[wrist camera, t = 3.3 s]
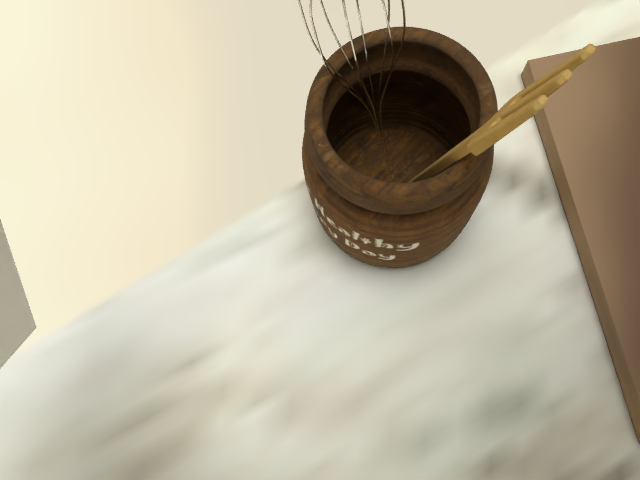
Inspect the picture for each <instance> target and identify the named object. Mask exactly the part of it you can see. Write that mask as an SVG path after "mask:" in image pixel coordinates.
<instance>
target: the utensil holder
mask: <svg viewBox="0 0 640 480" xmlns="http://www.w3.org/2000/svg"><path fill="white" fill-rule="evenodd" d="M381 1H382V4H383V8H384V12H385V16H386V21H387V28H384V29H379V30H375V31H372V32H369V33H366V34H363V27H362V21H361V16H360V10H359V5H358V0H356V3H357V8H358V14H359V20H360V26H361V31H362V35H361V36H359V37H357V38H355V39H353V40H352V36H351V32H350V27H349V23H348V18H347V13H346V7H345V1H344V0H342V3H343V8H344V14H345V18H346V23H347V27H348V32H349V36H350V40H351V41H349V42H348V43H346V44H345V45H343V46H342V47H341V45H340V43H339V41H338V39H337V37H336V35H335V33H334V31H333V29H332V26H331V24H330V22H329V20H328V17H327V15H326V12H325V9H324V6H323V3H322V0H320V2H321V5H322V8H323V11H324V14H325V17H326V19H327V22H328V24H329V26H330V28H331V31H332V33H333V35H334V36H335V39H336V40H337V43H338V45H339V47H340V48H339V49H338V50H337V51H336V52H335V53H334V54H332V55H331V56H330V58H329V59H328V60H326V59H325V57H324V56H323V54H322V51H321V48H320V45H319V42H318V38H317V34H316V31H315V27H314V23H313V18H312V0H310V18H311V23H312V27H313V31H314V34H315V38H316V41H317V45H318V48H319V49H318V48H317V46H316V45H315V43H314V41H313V39H312V37H311V34H310V32H309V29H308V26H307V23H306V20H305V17H304V13H303V10H302V6H301V3H300V0H298V3H299V6H300V10H301V13H302V16H303V20H304V23H305V26H306V29H307V32H308V34H309V36H310V39H311V41H312V43H313V45H314V46H315V48H316V50H317V51H318V53H319V54H320V55H321V57H322V60H323V62H324V65H323V66H322V67H321V69H320V70H319V72H318V73H317V76H316V77H315V79H314V81H313V83H312V86H311V89H310V92H309V96H308V100H307V105H306V112H305V133H304V138H303V146H302V160H303V169H304V175H305V180H306V184H307V187H308V191H309V194H310V197H311V200H312V203H313V206H314V209H315V212H316V214H317V217H318V219H319V221H320V223H321V225H322V226H323V228H324V230H325V231H326V233H327V234H328V236H329V237H330V238H331V239H332V240H333V241H334V242H335V243H336V244H337V245H338V246H339V247H340V248H341V249H342V250H343V251H345V252H346V253H347V254H349V255H351V256H352V257H354V258H356V259H358V260H360V261H363V262H365V263H368V264H372V265H376V266H381V267H404V266H410V265H414V264H418V263H421V262H423V261H426V260H428V259H430V258H432V257H434V256H435V255H437V254H438V253H440V252H441V251H443V250H444V249H445V248H447V247H448V246H449V245H450V244H451V243H452V242H453V241H454V240H455V239H456V238H457V236H458V235H459V234H460V233H461V231H462V230H463V228H464V227H465V226H466V224H467V222H468V221H469V219H470V217H471V216H472V214H473V212H474V210H475V209H476V207H477V205H478V203H479V202H480V200H481V197H482V195H483V193H484V191H485V189H486V186H487V184H488V181H489V178H490V174H491V170H492V165H493V156H494V144H495V143H496V142H498V141H499V140H500V139H502V138H503V137H504V136H506V135H507V134H509V133H510V132H511V131H513V130H514V129H515V128H517V127H518V126H519V125H521V124H522V123H524V122H525V121H526V120H528V119H529V118H530V117H532V116H533V115H535V114H536V113H537V112H539V111H540V110H541V109H542V108H543V107H544V106H545V105H546V104H547V103H548V98H547V97H548V96H550V95H551V94H552V93H554V92H555V91H556V90H558V89H559V88H560V87H562V86H563V85H564V84H565V83H566V82H567V81H568V80H569V79H570V78H571V77H572V71H573V70H574V69H576V68H577V67H578V66H580V65H581V64H582V63H583V62H585V61H586V60H587V59H588V58H589V57H590V56H592V54H593V53H594V52H595V51H596V48H595V46H594V45H593V44H588V45H587V46H586V47H584V48H583V49H581V50H580V51H578V52H577V53H575V54H574V55H573V56H571V57H570V58H568V59H567V60H565V61H564V62H562V63H561V64H560V65H558V66H557V67H555V68H554V69H552V70H551V71H549V72H548V73H547V74H545V75H544V76H542V77H541V78H539V79H538V80H536V81H535V82H534V83H532V84H531V85H529V86H528V87H526V88H525V89H524V90H522V91H521V92H519V93H518V94H517V95H515V96H514V97H513V98H511V99H510V100H509V101H508V102H507V103H506V104H505V105H504V106H503V107H502V108H501V109H500V110H499V111H498V109H497V100H496V95H495V91H494V88H493V85H492V82H491V80H490V78H489V76H488V74H487V72H486V71H485V69H484V67H483V66H482V65H481V63H480V62H479V61H478V60H477V59H476V57H475V56H474V55H473V54H471V52H469V51H468V50H467V49H466V48H465V47H463V46H462V45H461V44H459V43H458V42H456V41H454V40H453V39H451V38H449V37H447V36H445V35H442V34H440V33H437V32H434V31H431V30H427V29H422V28H414V27H405V8H404V2H403V0H401V1H402V8H403V20H404V27H392V28H390V26H389V21H390V0H388V16H387V11H386V7H385V3H384V0H381ZM325 61H326V62H325Z"/></svg>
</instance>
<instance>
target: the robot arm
mask: <svg viewBox="0 0 640 480" xmlns="http://www.w3.org/2000/svg"><path fill="white" fill-rule="evenodd" d="M35 328H36V325H35V322H34V319H33V316H32V313H31V310H30V307H29V304H28V301H27V298H26V295H25V292H24V289H23V286H22V283H21V280H20V277H19V274H18V271H17V268H16V265H15V262H14V259H13V256H12V253H11V250H10V247H9V244H8V241H7V238H6V235H5V232H4V229H3V226H2V223H1V220H0V368H1V367H2V366H3V365H4V364H5V363H6V361H7V360H8V359H9V358H10V357H11V356H12V355H13V353H14V352H15V351H16V350H17V349H18V348H19V347H20V345H21V344H22V343H23V342H24V341H25V340H26V339H27V337H28V336H29V335H30V334H31V333H32V332H33V331H34V329H35Z"/></svg>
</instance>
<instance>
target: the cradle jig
mask: <svg viewBox="0 0 640 480" xmlns="http://www.w3.org/2000/svg"><path fill="white" fill-rule="evenodd" d="M595 48H596V51H595V52H594V53H593V54H592V56H590V57H589V58H588V59H587V60H586V61H585V62H583V63H582V64H581V65H580V66H578V67H577V68H576V69H574V70H573V71H572V77H571V78H570V79H569V80H568V81H567V82H566V83H565V84H564V85H563V86H562V87H560V88H559V89H558V90H556V91H555V92H554V93H552V94H551V95H550V96H548V97H547V98H548V103H547V104H546V105H545V106H544V107H543V108H542V109H541V110H540V111H539V112H537V113H536V114H535V115H534V116H535V120H536V123H537V126H538V129H539V132H540V135H541V138H542V141H543V145H544V148H545V151H546V154H547V157H548V160H549V163H550V166H551V169H552V173H553V176H554V179H555V182H556V185H557V188H558V191H559V194H560V198H561V201H562V204H563V207H564V210H565V213H566V216H567V219H568V222H569V226H570V229H571V232H572V235H573V238H574V241H575V244H576V247H577V251H578V254H579V257H580V260H581V263H582V266H583V269H584V272H585V275H586V279H587V282H588V285H589V288H590V291H591V294H592V297H593V300H594V304H595V307H596V310H597V313H598V316H599V319H600V322H601V325H602V328H603V332H604V335H605V338H606V341H607V344H608V347H609V350H610V353H611V357H612V360H613V363H614V366H615V369H616V372H617V375H618V378H619V381H620V385H621V388H622V391H623V394H624V397H625V400H626V403H627V406H628V410H629V413H630V416H631V419H632V422H633V425H634V428H635V431H636V435H637V438H638V441H639V443H640V37H637V38H632V39H628V40H623V41H618V42H613V43H609V44H604V45H599V46H595ZM580 50H581V49H580ZM580 50H576V51H571V52H566V53H561V54H557V55H552V56H547V57H542V58H538V59H533V60H528V62H527V64H526V66H525V68H524V70H523V72H522V74H521V76H522V79H523V82H524V85H525V88H526V87H528V86H529V85H531V84H532V83H534V82H535V81H536V80H538V79H539V78H541V77H542V76H544V75H545V74H547V73H548V72H549V71H551V70H552V69H554V68H555V67H557V66H558V65H560V64H561V63H562V62H564V61H565V60H567V59H568V58H570V57H571V56H573V55H574V54H575V53H577V52H578V51H580Z"/></svg>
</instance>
